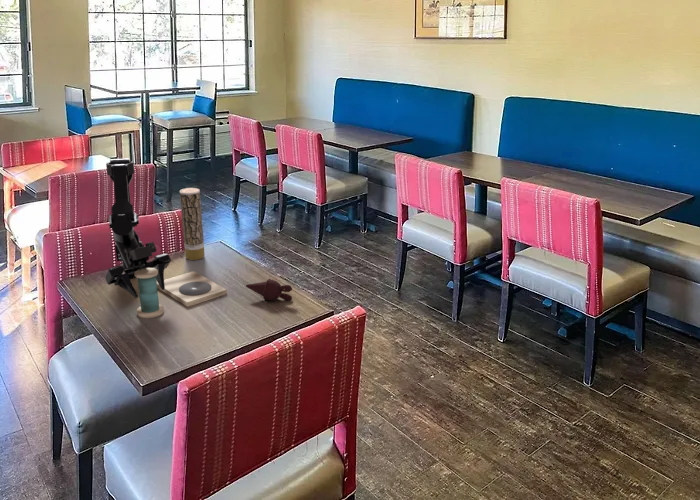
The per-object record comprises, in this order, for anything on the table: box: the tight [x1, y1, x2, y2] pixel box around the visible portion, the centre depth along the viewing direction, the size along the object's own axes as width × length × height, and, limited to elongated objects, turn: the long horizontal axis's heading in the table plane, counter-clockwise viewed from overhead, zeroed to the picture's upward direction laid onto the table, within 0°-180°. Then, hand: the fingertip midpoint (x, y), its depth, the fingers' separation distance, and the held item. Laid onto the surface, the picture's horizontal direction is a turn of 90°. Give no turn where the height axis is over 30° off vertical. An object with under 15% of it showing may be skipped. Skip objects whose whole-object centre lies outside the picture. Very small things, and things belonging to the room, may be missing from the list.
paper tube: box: [179, 187, 205, 261], centre depth 229 cm, size 7×7×25 cm
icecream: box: [245, 278, 293, 301], centre depth 200 cm, size 7×7×15 cm
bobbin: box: [134, 268, 165, 319], centre depth 189 cm, size 8×8×13 cm
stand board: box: [157, 271, 228, 307], centre depth 206 cm, size 20×14×2 cm
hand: (150, 293), depth 188 cm, fingers open, 8 cm apart
